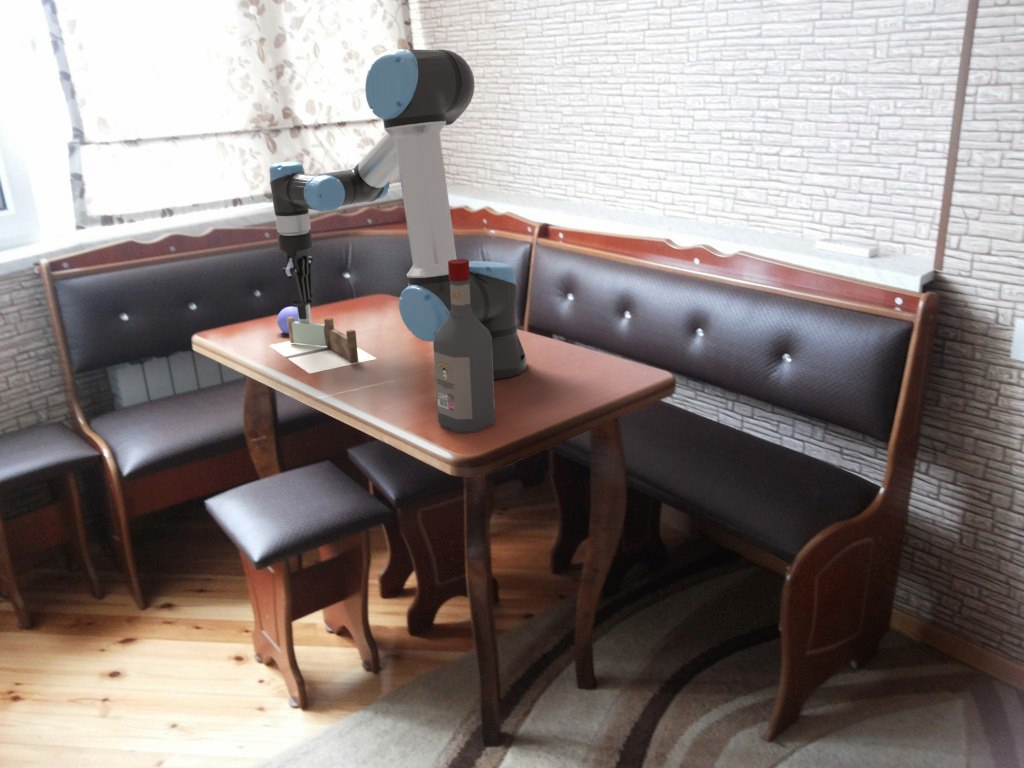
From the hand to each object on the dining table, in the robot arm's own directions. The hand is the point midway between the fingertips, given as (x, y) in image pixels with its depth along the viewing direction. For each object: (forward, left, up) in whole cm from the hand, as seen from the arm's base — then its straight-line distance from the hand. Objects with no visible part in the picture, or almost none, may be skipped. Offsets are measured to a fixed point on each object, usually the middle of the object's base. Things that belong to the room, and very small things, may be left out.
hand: (306, 330), depth 207 cm
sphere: (+11, -1, -4) cm, 12 cm away
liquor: (-65, -5, -4) cm, 66 cm away
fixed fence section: (-14, -3, -3) cm, 14 cm away
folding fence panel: (-2, +1, -3) cm, 3 cm away
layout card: (-8, 0, -4) cm, 9 cm away
